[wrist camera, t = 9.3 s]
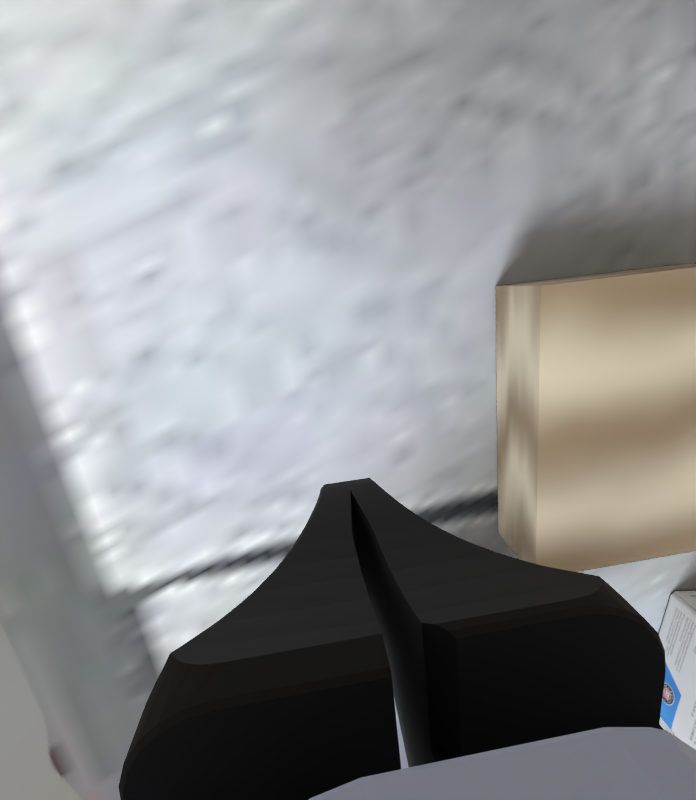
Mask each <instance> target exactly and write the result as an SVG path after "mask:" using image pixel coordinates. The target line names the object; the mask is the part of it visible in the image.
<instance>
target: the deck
mask: <svg viewBox="0 0 696 800" xmlns="http://www.w3.org/2000/svg"><path fill="white" fill-rule="evenodd" d="M496 364H497V457H498V533H499V534H500V535H501V537H502V538H503V539H504V540H505V542H506V543H507V544H508V545H509V547H510V548H511V549H512V550H513V552H514V553H515V554H516V555H517V557H518V558H519V559H520V560H523V561H527V562H531V563H534V564H538V565H542V566H546V567H551V568H557V569H562V570H567V571H573V572H578V571H584V570H590V569H595V568H601V567H607V566H612V565H618V564H624V563H629V562H635V561H641V560H647V559H652V558H658V557H664V556H669V555H675V554H681V553H686V552H692V551H696V263H692V264H679V265H671V266H662V267H654V268H645V269H637V270H628V271H620V272H611V273H602V274H594V275H585V276H577V277H568V278H560V279H551V280H543V281H534V282H526V283H517V284H509V285H500V286H496Z"/></svg>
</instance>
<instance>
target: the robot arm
mask: <svg viewBox="0 0 696 800" xmlns="http://www.w3.org/2000/svg"><path fill="white" fill-rule="evenodd" d="M665 672H666V665H665V649H664V647H663V644H662V642H661V639H660V637H659V634H658V633H657V632H656V631H655V630H654V628H653V627H652V626H651V625H650V624H649V623H648V622H647V621H646V620H645V619H644V618H643V617H642V616H641V615H640V614H639V613H638V612H637V611H636V610H635V609H634V608H633V607H632V606H631V605H630V604H629V603H628V602H627V601H626V600H625V599H624V598H623V597H622V596H621V595H620V594H618V593H617V592H616V591H615V590H614V589H613V588H612V587H611V586H610V585H609V584H607V583H606V582H605V581H604V580H603V579H601V578H600V577H599V576H594V575H589V574H583V573H578V572H573V571H567V570H562V569H557V568H551V567H546V566H542V565H538V564H534V563H531V562H527V561H523V560H519V559H516V558H512V557H509V556H506V555H503V554H499V553H496V552H493V551H491V550H488V549H485V548H483V547H480V546H477V545H475V544H472V543H470V542H467V541H465V540H463V539H460V538H458V537H456V536H454V535H452V534H450V533H448V532H446V531H444V530H442V529H440V528H438V527H436V526H434V525H432V524H431V523H429V522H427V521H426V520H424V519H423V518H421V517H419V516H418V515H416V514H415V513H413V512H412V511H410V510H409V509H407V508H406V507H404V506H403V505H402V504H400V503H399V502H398V501H396V500H395V499H394V498H393V497H391V496H390V495H389V494H388V493H387V492H385V491H384V490H383V489H382V488H381V487H380V486H378V485H377V484H376V483H375V482H374V481H373V480H371V479H370V478H366V479H359V480H352V481H346V482H339V483H333V484H326V485H324V486H323V487H322V488H321V491H320V495H319V498H318V501H317V503H316V506H315V508H314V510H313V512H312V514H311V516H310V518H309V520H308V522H307V524H306V526H305V528H304V529H303V531H302V533H301V534H300V536H299V538H298V539H297V541H296V542H295V544H294V546H293V547H292V548H291V550H290V551H289V553H288V554H287V555H286V557H285V558H284V559H283V561H282V562H281V563H280V564H279V566H278V567H277V568H276V569H275V571H274V572H273V573H272V574H271V575H270V576H269V577H268V578H267V579H266V580H265V581H264V582H263V583H262V584H261V585H260V586H259V587H258V588H257V589H256V590H255V591H254V592H253V593H252V594H251V595H250V596H248V597H247V598H246V599H245V600H244V601H243V602H242V603H240V604H239V605H238V606H237V607H236V608H234V609H233V610H232V611H231V612H229V613H228V614H227V615H226V616H224V617H223V618H222V619H220V620H219V621H218V622H216V623H215V624H214V625H212V626H211V627H209V628H208V629H206V630H205V631H203V632H202V633H200V634H199V635H197V636H196V637H195V638H193V639H192V640H190V641H189V642H187V643H186V644H184V645H183V646H181V647H180V648H178V649H176V650H175V651H173V652H172V653H171V654H170V655H169V657H168V659H167V661H166V664H165V666H164V668H163V670H162V672H161V674H160V676H159V677H158V679H157V681H156V683H155V685H154V688H153V690H152V692H151V694H150V696H149V698H148V701H147V703H146V705H145V708H144V711H143V713H142V716H141V719H140V721H139V724H138V727H137V729H136V732H135V735H134V737H133V740H132V743H131V746H130V748H129V751H128V754H127V756H126V759H125V762H124V765H123V769H122V774H121V779H120V783H119V792H120V797H121V800H696V750H695V749H694V748H692V747H691V746H689V745H688V744H686V743H685V742H683V741H682V740H680V739H679V738H677V737H675V736H674V735H672V734H671V733H669V732H668V731H666V730H663V728H662V727H661V726H660V725H659V720H660V712H661V705H662V697H663V689H664V682H665Z"/></svg>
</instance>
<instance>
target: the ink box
mask: <svg viewBox="0 0 696 800" xmlns="http://www.w3.org/2000/svg"><path fill="white" fill-rule="evenodd" d="M659 637H660V639H661V642H662V644H663V647H664V649H665V665H666V672H665V682H664V689H663V697H662V705H661V712H660V717H661V718H662V719H663V720H664V722H665V723H666V724H667V725H668V726H669V728H670V729H671V730H672V731H673V732H674V734H675V735H676V736H677V737H678V738H679V739H680V740H682V741H683V742H685V743H686V744H688V745H689V746H691V747H692V748H694V749H695V750H696V591H675V592H674V593H673V594H671V596H670V599H669V603H668V606H667V609H666V612H665V616H664V619H663V622H662V625H661V628H660V632H659Z"/></svg>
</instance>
